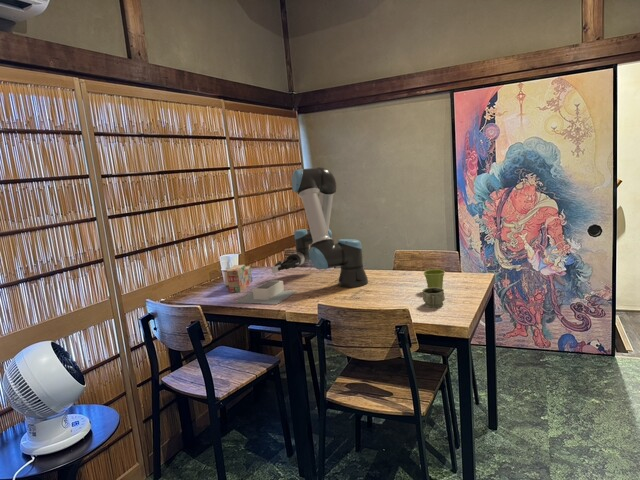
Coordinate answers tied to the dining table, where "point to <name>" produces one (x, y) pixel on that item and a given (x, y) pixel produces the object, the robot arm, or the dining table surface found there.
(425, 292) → the vessel
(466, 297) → the dining table surface
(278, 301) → the rubber mat
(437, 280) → the plant pot
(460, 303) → the dining table surface
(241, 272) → the multicoloured rectangular box
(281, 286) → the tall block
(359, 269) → the robot arm
